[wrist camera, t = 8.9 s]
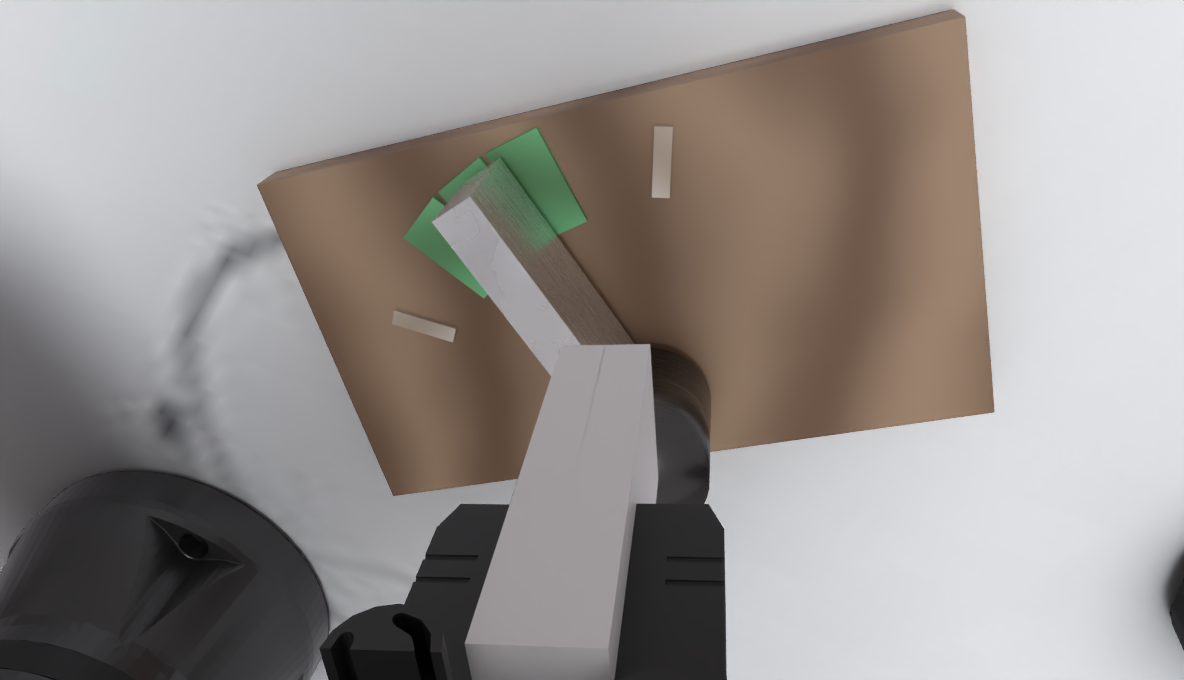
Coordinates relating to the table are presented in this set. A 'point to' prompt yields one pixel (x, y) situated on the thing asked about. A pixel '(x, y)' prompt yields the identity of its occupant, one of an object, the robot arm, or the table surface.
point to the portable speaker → (1179, 614)
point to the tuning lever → (572, 315)
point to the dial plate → (675, 252)
